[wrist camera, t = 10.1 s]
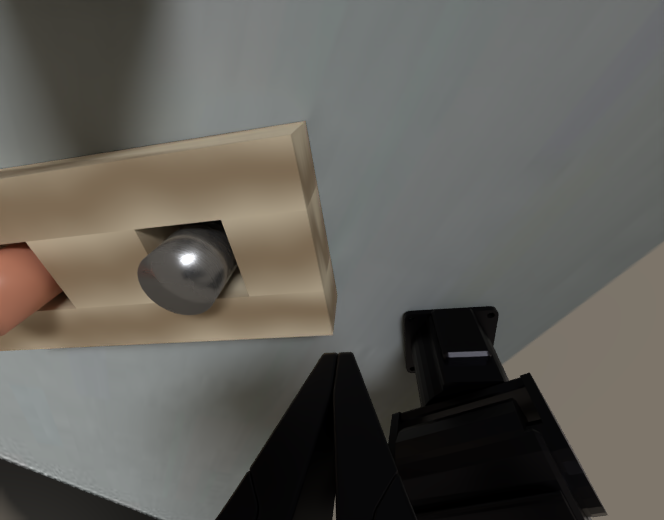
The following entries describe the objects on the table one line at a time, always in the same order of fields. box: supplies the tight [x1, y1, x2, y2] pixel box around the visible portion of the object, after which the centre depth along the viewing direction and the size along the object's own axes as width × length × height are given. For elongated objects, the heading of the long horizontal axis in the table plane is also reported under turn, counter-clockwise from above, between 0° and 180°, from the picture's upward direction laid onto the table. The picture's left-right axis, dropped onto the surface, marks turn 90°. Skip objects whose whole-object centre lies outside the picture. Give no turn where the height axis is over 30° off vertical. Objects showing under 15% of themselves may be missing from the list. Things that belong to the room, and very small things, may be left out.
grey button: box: [137, 220, 238, 315], centre depth 18 cm, size 4×4×6 cm
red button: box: [0, 242, 63, 336], centre depth 19 cm, size 4×4×6 cm
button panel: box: [0, 121, 337, 351], centre depth 20 cm, size 12×26×4 cm, turn 99°
